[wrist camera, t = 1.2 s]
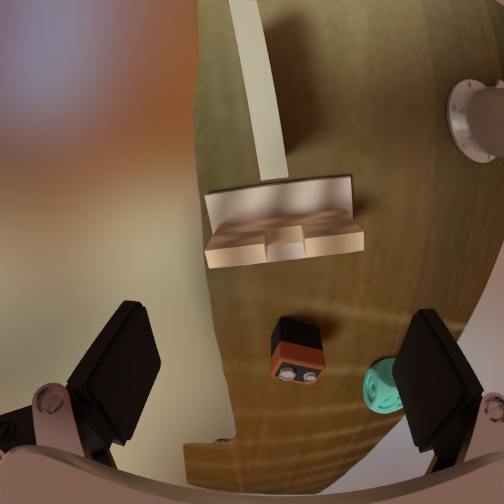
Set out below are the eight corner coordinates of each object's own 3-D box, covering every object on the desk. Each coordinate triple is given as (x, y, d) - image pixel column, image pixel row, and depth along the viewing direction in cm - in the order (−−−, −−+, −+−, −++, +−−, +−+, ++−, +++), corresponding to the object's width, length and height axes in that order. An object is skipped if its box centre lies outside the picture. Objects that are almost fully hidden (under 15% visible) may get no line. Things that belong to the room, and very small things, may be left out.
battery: (279, 315, 42) (280, 362, 33) (319, 326, 43) (328, 372, 34) (270, 335, 44) (268, 382, 35) (308, 344, 44) (314, 391, 35)
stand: (348, 175, 33) (371, 191, 24) (351, 248, 37) (371, 282, 28) (206, 193, 35) (186, 214, 27) (222, 263, 39) (208, 300, 31)
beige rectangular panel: (260, 37, 26) (253, -13, 13) (282, 158, 33) (288, 176, 20) (244, 40, 26) (226, -9, 14) (265, 160, 33) (261, 180, 20)
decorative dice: (394, 381, 48) (404, 410, 41) (360, 385, 49) (367, 416, 41) (407, 355, 45) (420, 385, 38) (371, 358, 45) (381, 391, 38)
